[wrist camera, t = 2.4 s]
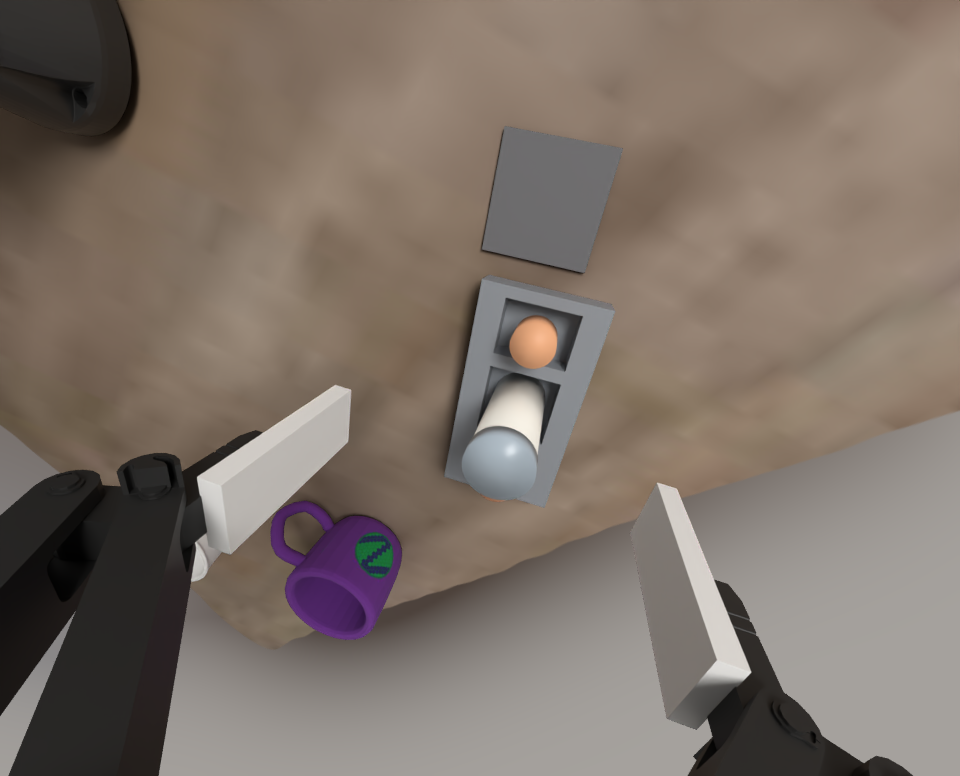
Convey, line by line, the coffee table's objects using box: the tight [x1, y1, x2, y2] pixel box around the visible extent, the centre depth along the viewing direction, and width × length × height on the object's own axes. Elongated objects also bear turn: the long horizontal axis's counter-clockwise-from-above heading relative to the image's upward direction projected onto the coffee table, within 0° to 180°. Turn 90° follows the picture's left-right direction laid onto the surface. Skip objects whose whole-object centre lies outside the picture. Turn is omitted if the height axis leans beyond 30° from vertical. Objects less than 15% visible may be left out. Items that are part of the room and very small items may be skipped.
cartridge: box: [462, 372, 546, 500], centre depth 31 cm, size 5×5×12 cm
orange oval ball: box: [509, 315, 558, 369], centre depth 30 cm, size 4×4×3 cm
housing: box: [444, 275, 615, 508], centre depth 36 cm, size 21×11×3 cm, turn 169°
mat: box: [482, 126, 623, 273], centre depth 30 cm, size 9×9×1 cm
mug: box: [271, 501, 402, 640], centre depth 46 cm, size 17×11×10 cm, turn 44°
